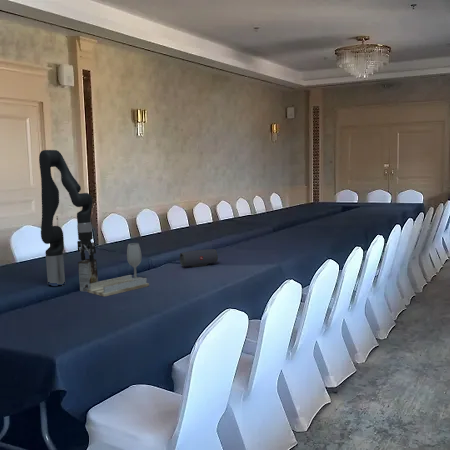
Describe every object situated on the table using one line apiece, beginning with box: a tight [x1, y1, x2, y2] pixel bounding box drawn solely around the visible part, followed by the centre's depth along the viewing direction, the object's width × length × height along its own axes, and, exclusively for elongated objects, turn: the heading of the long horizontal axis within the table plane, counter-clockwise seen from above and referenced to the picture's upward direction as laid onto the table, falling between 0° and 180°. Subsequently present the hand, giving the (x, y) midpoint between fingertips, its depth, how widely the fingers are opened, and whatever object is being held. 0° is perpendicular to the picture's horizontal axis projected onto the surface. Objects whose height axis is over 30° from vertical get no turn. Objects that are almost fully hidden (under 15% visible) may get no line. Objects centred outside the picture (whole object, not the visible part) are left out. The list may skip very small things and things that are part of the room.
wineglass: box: [126, 242, 143, 280], centre depth 314 cm, size 9×9×21 cm
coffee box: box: [77, 258, 99, 292], centre depth 298 cm, size 9×6×16 cm
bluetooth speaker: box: [179, 248, 219, 268], centre depth 349 cm, size 23×9×10 cm, turn 114°
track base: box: [87, 274, 150, 298], centre depth 296 cm, size 16×28×4 cm, turn 134°
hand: (87, 260), depth 297 cm, fingers open, 8 cm apart
